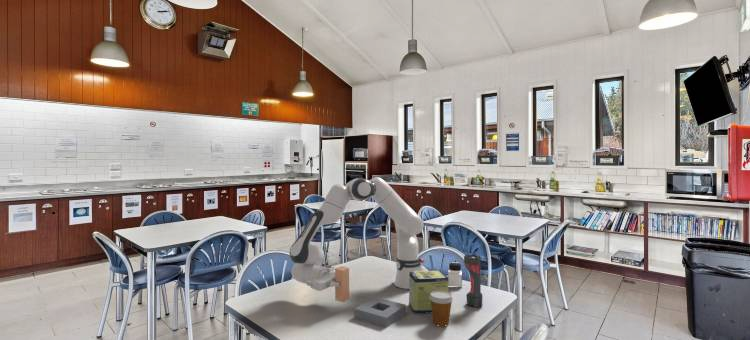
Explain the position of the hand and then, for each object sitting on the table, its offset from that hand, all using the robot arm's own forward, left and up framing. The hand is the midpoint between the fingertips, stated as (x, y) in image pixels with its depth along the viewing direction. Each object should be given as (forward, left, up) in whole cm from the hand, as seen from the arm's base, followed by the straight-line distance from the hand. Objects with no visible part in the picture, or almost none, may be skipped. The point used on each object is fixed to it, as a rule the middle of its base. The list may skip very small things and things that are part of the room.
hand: (343, 282), depth 165 cm
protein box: (-35, +14, -13) cm, 40 cm away
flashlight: (-56, +19, -13) cm, 61 cm away
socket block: (-12, +12, -12) cm, 21 cm away
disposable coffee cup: (-31, +29, -13) cm, 44 cm away
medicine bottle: (-65, -5, -13) cm, 67 cm away
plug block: (0, -1, -8) cm, 8 cm away
